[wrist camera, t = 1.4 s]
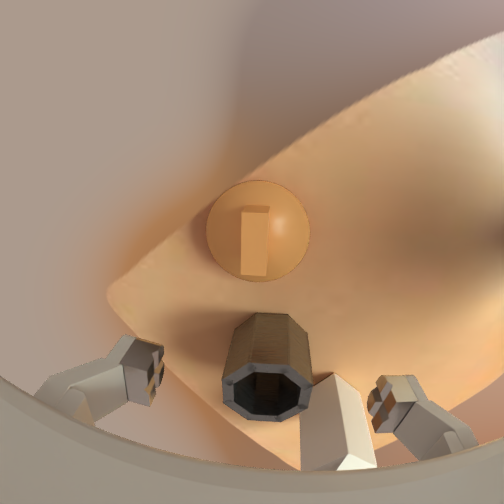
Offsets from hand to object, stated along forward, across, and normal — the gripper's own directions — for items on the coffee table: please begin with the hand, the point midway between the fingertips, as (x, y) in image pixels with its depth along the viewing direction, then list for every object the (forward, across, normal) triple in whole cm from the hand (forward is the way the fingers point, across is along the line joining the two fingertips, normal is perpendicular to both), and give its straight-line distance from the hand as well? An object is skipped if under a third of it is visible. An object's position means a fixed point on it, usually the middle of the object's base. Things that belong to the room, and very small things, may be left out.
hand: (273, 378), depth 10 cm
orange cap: (+25, +1, 0) cm, 25 cm away
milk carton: (+25, -14, +24) cm, 38 cm away
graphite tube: (+25, -3, +16) cm, 30 cm away
